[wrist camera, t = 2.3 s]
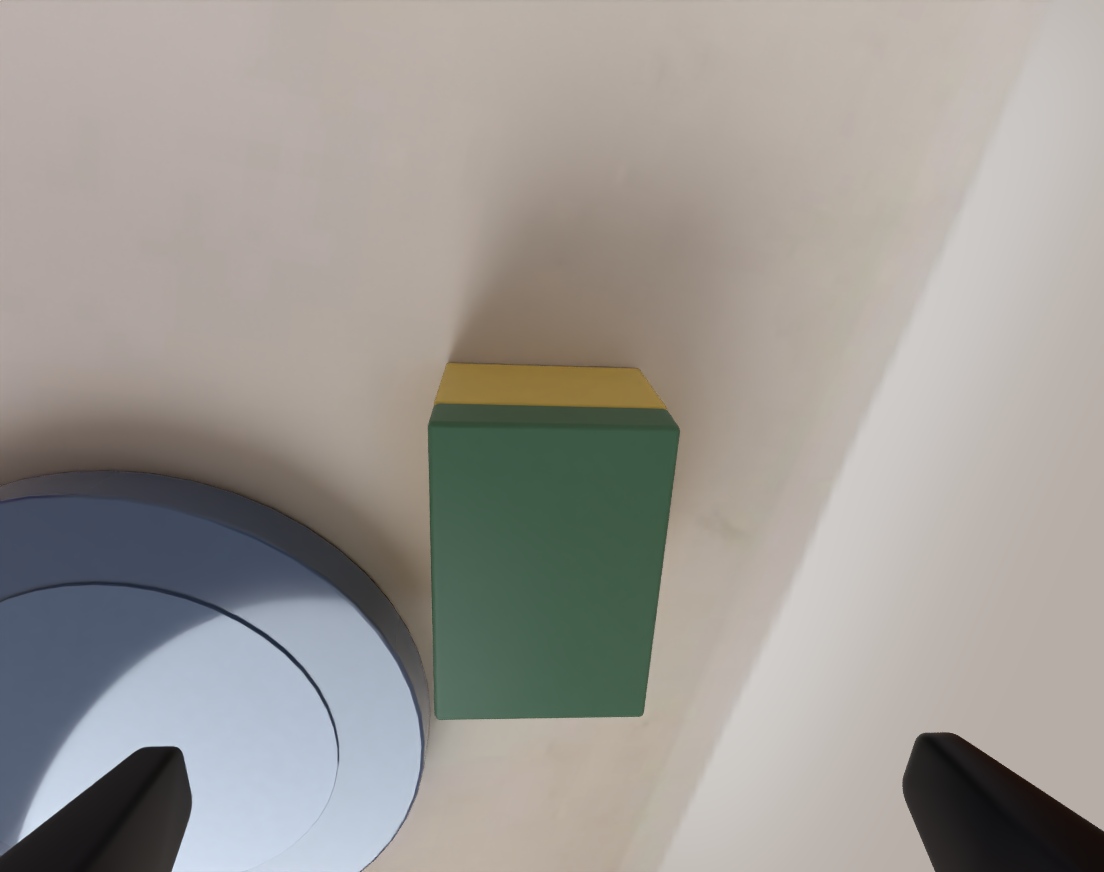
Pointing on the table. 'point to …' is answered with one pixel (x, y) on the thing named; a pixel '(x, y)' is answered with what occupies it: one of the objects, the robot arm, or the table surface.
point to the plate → (203, 670)
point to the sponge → (546, 539)
